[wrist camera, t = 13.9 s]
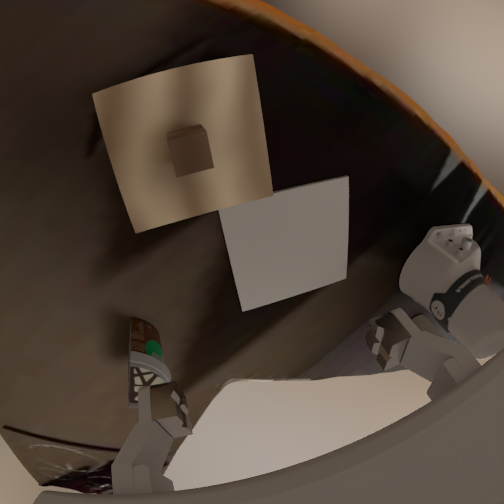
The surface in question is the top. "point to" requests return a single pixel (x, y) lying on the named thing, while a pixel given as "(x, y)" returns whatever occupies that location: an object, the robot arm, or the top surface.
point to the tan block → (186, 140)
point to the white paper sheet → (288, 241)
